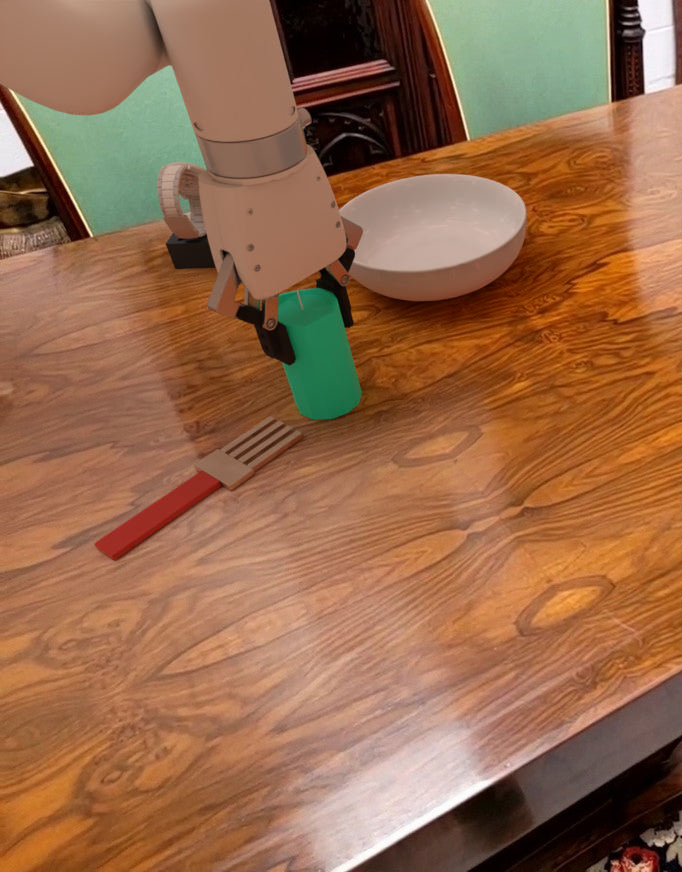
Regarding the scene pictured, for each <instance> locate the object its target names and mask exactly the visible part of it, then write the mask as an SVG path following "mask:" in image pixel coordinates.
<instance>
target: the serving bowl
mask: <svg viewBox="0 0 682 872" xmlns="http://www.w3.org/2000/svg"><path fill="white" fill-rule="evenodd" d="M339 212H340V215H341V216H342V217H344V218H346V219H347V220H349V221H351V222H353V223H355V224H357V225H359V226H360V227H362V229H363V234H362V237H361V239H360V241H359V244H358V246H357V248H356V249H355V250H354V251H355V258H354V260H353V263H352V265H351V267H350V270H349V272H348V274H349V275H350V278H352V279H353V280H354V281H356V282H358V284H360V285H361V286H363V287H365V288H367V289H368V290H370V291H372V292H375V293H377V294H378V295H382V296H384V297H387V298H392V299H395V300H396V299H397V300H402V301H411V302H434V301H435V302H436V301H442V300H448V299H453V298H457V297H461V296H465V295H468V294H470V293H472V292H473V293H474V292H475V291H478V290H479V289H482V288H483V287H486V286H487V285H489V284H491V283H493V282H494V281H496V280H497V279H498V278H499V277H500V276H502V275H503V274H504V273H505V272H506V271H507V270H508V269H509V268H510V267H511V266H512V264H513V263H514V262H515V261H516V259H517V257H518V255H519V254H520V252H521V249H522V247H523V245H524V242H525V238H526V235H527V234H526V233H527V224H528V211H527V206H526V204H525V202H524V200H523V198H522V197H521V195H520V194H518V192H516V190H514V189H512V188H511V187H509V186H507V185H505V184H504V183H500V182H498V181H496V180H492V179H490V178H487V177H482V176H476V175H472V174H471V175H470V174H462V173H461V174H457V173H435V174H434V173H433V174H423V175H416V176H410V177H405V178H400V179H396V180H393V181H390V182H387V183H383V184H381V185H378V186H376V187H373V188H371V189H369V190H366V191H364V192H361V193H360V194H359V195H357V196H355V197H354V198H353V199H351V200H349V201H347V203H345V204H344V205H343V206H342V207H341V208H339Z"/></svg>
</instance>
